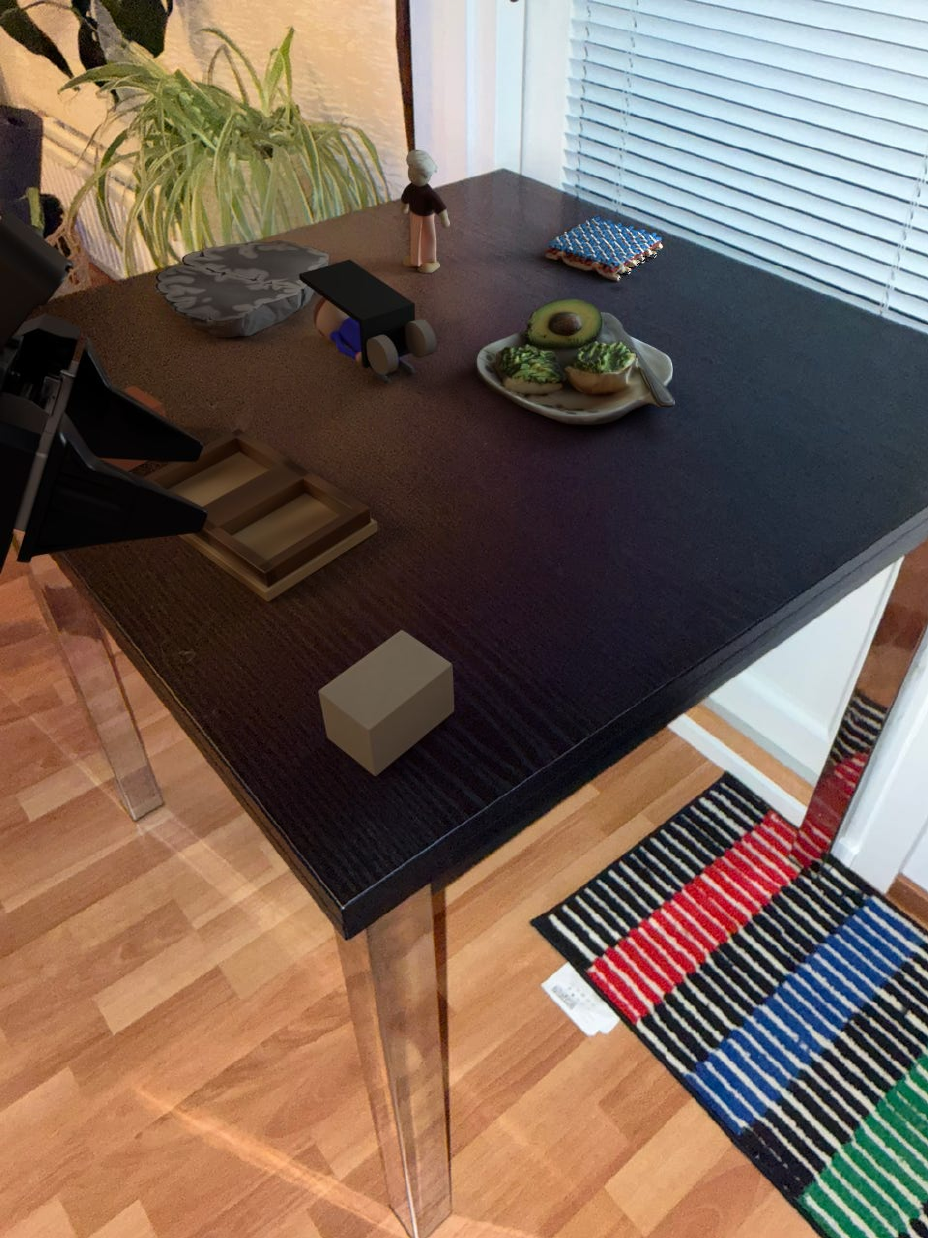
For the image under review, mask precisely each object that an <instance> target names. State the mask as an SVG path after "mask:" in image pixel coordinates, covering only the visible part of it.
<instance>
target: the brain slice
mask: <svg viewBox="0 0 928 1238" xmlns="http://www.w3.org/2000/svg"><path fill="white" fill-rule="evenodd" d="M329 260H330V255H329V253H328V252H325V251H324V250H321V249H318V248H316V247H312V246H308V245H303V244H301V243H300V244H299V243H296V242H291V241H284V240H271V241H249V242H245V243H231V244H225V245H220V246H211V247H207V248H203V249H200V250H197V251H196V250H195V251H193V252H189V253H187V254H185V255H183V256H181V263H182V264H177V265H172V266H168V267H167V268H165V269H164V270H162V271H160V272H158V273H157V274H156V275H155V280H156V281H157V283H155V286H154V287H155V290H156V291H157V293H160V294H161V295H162V298H163V300H164V301H165V303H166V304H167V305H168V306H169V307H170V308H171V310H172V312H174V313H175V314H176V316H178V317H179V318H181V319H183V320H184V321H185V322H186V323H187V324H188V325H189V326H191V327H192V328H194V329H195V330H198V331H202V332H208V333H209V334H210V335H212V336H213V337H214V338H215V337H216V338H223V339H227V338H234V337H238V336H240V337H250V336H252V335H255V334H256V333H258V332H260V331H262V330H266V329H268V328H271V327H272V326H275V325H277V324H279V323H281V322H284V320H286V319H287V318H289V317H290V316H292V315H293V314H294V313H295V312H300V311H301V310H302V309H303V308H304V307H305V306H307V304H308V303H309V302H310V301H311V299H312V296H313V295H314V294H315V293H316V291H314V290H313V289H311V288H310V287H309V286H307V285H306V284H305V283H303V282H302V281H301V280H300V279H299V274H300V273H304V272H307V271H311V270H314V269H318V268H321V267H325V266H328V265H329Z"/></svg>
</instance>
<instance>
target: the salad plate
mask: <svg viewBox="0 0 928 1238" xmlns="http://www.w3.org/2000/svg"><path fill="white" fill-rule="evenodd" d="M525 323H526V329H524V330H521V331H519V332H517V333H514V334H512V335H508V336H506V337H504V338H502V339H499V340H496V341H494V342H491V343H489V344H488V345H485V346H484V347H483V348H481V349H480V350H479V351H478V353H477V355H476V360H475V369H476V374H477V376H478V378H479V380H480V381H482V383H483V384H484V385H485V386H486V387H487V389H489V390H490V391H491V392H492V393H494V394H496V395H497V396H500V397H503V398H505V399H508V400H509V401H511V402H512V403H513V404H515V405H517V406H519V407H521V408H524V409H526V410H528V411H530V412H533V413H535V414H538V415H541V416H544V417H546V418H548V419H551V420H553V421H556V422H559V423H562V424H567V425H582V426H583V425H584V426H586V425H587V426H594V425H596V426H597V425H602V424H608V423H612V422H614V421H616V420H619V419H620V418H622V417H624V416H626V415H627V414H629V413H630V412H633V411H634V410H636V409H639V408H641V407H643V406H646V405H651V404H652V405H655V406H657V407H658V408H672V407H674V406H675V404H676V403H675V402H676V401H675V399H674V397H673V396H672V394H671V393H670V391H669V390H668V389H667V386H668V385H669V383H671V382H672V378H673V363H672V360H671V358H670V357H669V356H668V355H667V354H666V353H665V352H662V351H661V350H659V349H657V348H655V347H654V346H652V345H649V344H648V343H645V342H642V341H641V340H639V339H637V338H635V337H632V336H631V335H629V334H628V333H627V331H626V330H625V329H624V325H623V324H622V323H621V322H620V321H619V320H618V319H617V317H615V316H614V315H613V314H611V313H610V312H603V311H600V310H599V308H598V307H596V305H594V304H592V303H591V302H589V301H586V300H582V299H578V298H563V299H562V298H561V299H557V300H554V301H550V302H548V303H545V304H544V305H541V306H540V307H538V308H536V310H534V311H532V313H531V314H530V317H529V319H527V320H526V321H525Z"/></svg>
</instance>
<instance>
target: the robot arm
mask: <svg viewBox="0 0 928 1238" xmlns="http://www.w3.org/2000/svg"><path fill="white" fill-rule="evenodd" d="M73 266H74V262H72V261H71V260H70V259H69V258H68V257H66V255H64V254H63V253H62V252H60V251H59V250H58V249H56V247H54V246H53V245H52V244H51V243H50V242H48V241H47V240H46V239H45V237H44V233H43V231H42V230H41V228H39V227H38V226H36V225H35V224H27V223H25V222H24V221H23V220H22V219H20V218H19V217H18V216H16V214H14V213H13V212H12V211H9V212H7V213H5V214H4V215H3V216H2V217H1V218H0V574H2V573H3V569H4V567H5V563H6V561H7V557H8V555H9V552H10V549H11V546H12V543H13V540H14V536H15V534H14V530H16V531H20V532H24V534H23V538H22V541H21V545H20V547H19V550H18V551H19V552H18V555H17V558H16V562H17V563H21V564H22V563H24V564H29V563H31V561H32V559H33V558H35V557H39V556H45V555H50V554H51V555H52V554H56V553H63V552H68V551H73V550H79V549H85V548H91V547H96V546H103V545H110V544H117V543H118V544H119V543H125V542H132V541H134V542H135V541H142V540H149V539H159V538H166V537H175V536H178V535H184V534H192V533H199V532H201V531H202V529H203V527H204V524H205V522H206V519H207V510H206V509H205V508H203V507H202V506H200V505H198V504H196V503H194V502H192V501H190V500H188V499H186V498H184V497H182V496H180V495H178V494H176V493H174V492H172V491H170V490H167V489H165V488H163V487H161V486H159V485H156V484H154V483H152V482H150V481H148V480H146V479H143V477H141V476H139V475H137V474H135V473H133V472H130V471H126V470H124V469H122V468H119V467H117V466H115V465H113V464H111V463H109V462H106V461H104V460H102V459H100V458H107V459H126V460H144V461H147V462H161V463H162V462H165V463H172V462H197V461H198V460H199V458H200V455H201V452H202V450H203V446H204V444H203V441H201V440H200V439H198V438H197V437H195V436H194V435H193V434H191V433H189V432H188V431H186V430H185V429H184V428H182V427H181V426H178V425H177V424H176V423H174V422H172V421H171V420H169V419H168V418H167V417H166V418H165V417H163V416H162V415H160V414H159V413H157V412H156V411H154V410H153V409H151V408H150V407H148V406H146V405H145V404H144V403H142V402H140V401H139V400H137V399H136V398H135V397H133V396H132V395H130V394H129V393H127V392H126V391H124V389H123V388H122V387H120V386H119V385H118V384H116V383H115V382H114V381H113V380H112V379H111V378H110V376H109V375H108V373H107V371H106V369H105V367H104V365H103V363H102V361H101V359H100V358H99V355H98V353H97V350H96V345H95V344H94V342H93V341H92V340H91V339H90V338H89V337H87V338H86V340H85V343H84V346H83V350H82V352H81V356H80V359H79V361H76V360H74V356H75V354H76V353H75V352H76V350H77V347H78V343H79V340H80V337H81V332H82V328H83V327H82V326H80V325H77V324H74V323H72V322H69V321H67V320H64V319H62V318H59V317H56V316H54V315H52V314H49V313H43V314H41V315H39V316H36V317H34V318H32V319H29V320H28V318H29V316H31V314H32V313H33V312H34V311H35V309H36V308H37V307H43V306H45V305H46V304H47V303H48V302H49V301H50V300H51V298H52V297H53V296H54V294H56V292H57V291H58V290H59V288H60V287H61V286H62V285H63V283H64V282H65V280H66V279H67V277H68V271H69V270H71V269H72V268H73Z"/></svg>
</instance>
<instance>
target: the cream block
mask: <svg viewBox="0 0 928 1238" xmlns="http://www.w3.org/2000/svg"><path fill="white" fill-rule="evenodd" d="M453 671H454V670H453V664H452V663H451V662H450V661H448V660H447V659H446V658H444V657H443V656H441V655H440V654H438V653H436V652H435V651H434V650H432V649H431V648H429V647H428V646H427V645H425V644H423V643H422V642H421V641H420V640H418V639H416V638H415V637H413V636H412V635H410V634H409V633H407V632H406V631H404V630H403V629H401V630H399V631H398V632H396V633H395V634H394V635H393V636H391V637H390V638H388V639H387V640H386V641H384V642H383V643H381V644H380V645H379V646H377V647H376V648H374V649H373V650H372V651H370V652H369V653H368V654H367V655H365V656H364V657H362V658H361V659H360V660H358V661H357V662H356V663H354V664H353V665H351V666H350V667H349V668H347V669H346V670H345V671H343V672H342V673H340V674H339V675H337V676H336V677H335V678H334V679H332V680H331V681H330V682H328V683H327V684H326V685H324V686H323V687H321V688H320V689H319V690H318V691H317V693H318V697H319V702H320V708H321V713H322V717H323V723H324V729H325V733H326V738H327V739H328V740H330V741H331V742H332V743H333V744H335V746H337V747H338V748H339V749H340V750H342V752H344V753H346V754H347V755H348V756H349V757H350V758H352V759H353V760H354V761H356V763H358V764H359V765H361V767H362V768H364V769H365V770H366V771H368V772H369V773H370V774H371V775H373V776H374V777H377V776H378V775H379V774H380V773H382V772H383V771H384V770H385V769H386V768H388V767H389V766H390V765H391V764H392V763H394V762H395V761H396V760H397V759H399V758H400V757H401V756H402V755H403V754H404V753H406V752H407V751H408V750H409V749H410V748H412V747H413V746H414V745H415V744H417V743H418V742H419V741H421V739H423V738H424V737H425V736H426V735H427V734H429V733H430V732H431V731H432V730H433V729H435V728H436V727H437V726H438V725H440V724H441V723H442V722H444V721H445V720H446V719H447V718H448V717H449V716H450V715H452V714H453V713H454V712H455V693H454V673H453Z"/></svg>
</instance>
